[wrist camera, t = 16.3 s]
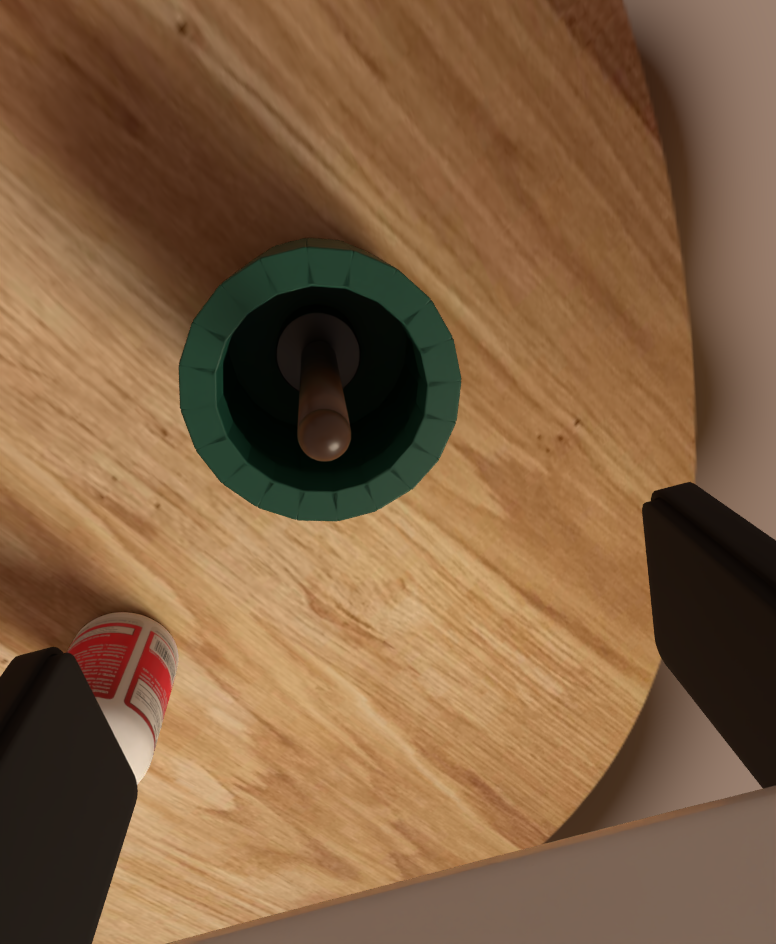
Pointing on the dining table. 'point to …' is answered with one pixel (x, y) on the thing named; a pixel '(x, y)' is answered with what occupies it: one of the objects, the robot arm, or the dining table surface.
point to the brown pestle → (319, 376)
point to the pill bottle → (129, 678)
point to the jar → (277, 404)
